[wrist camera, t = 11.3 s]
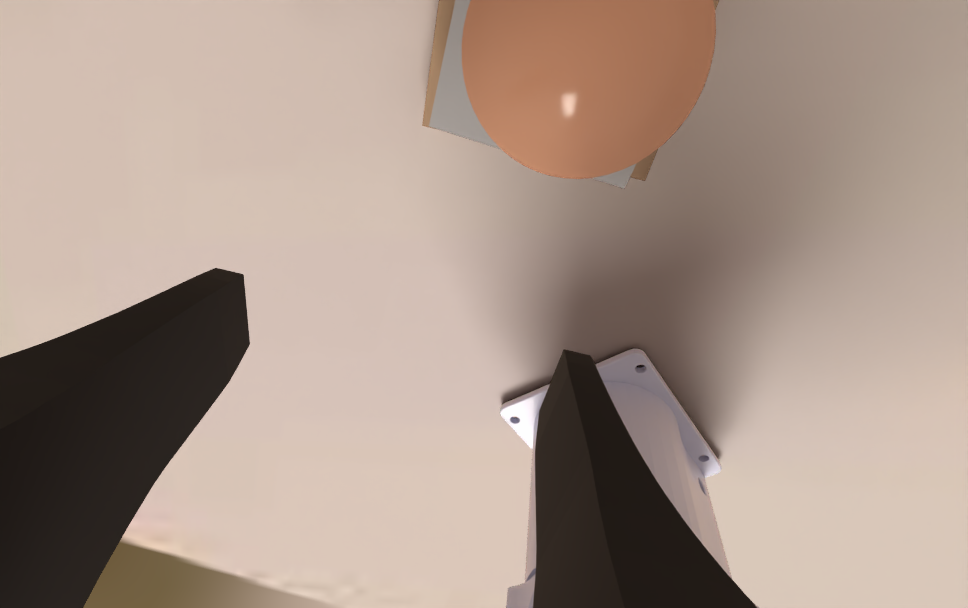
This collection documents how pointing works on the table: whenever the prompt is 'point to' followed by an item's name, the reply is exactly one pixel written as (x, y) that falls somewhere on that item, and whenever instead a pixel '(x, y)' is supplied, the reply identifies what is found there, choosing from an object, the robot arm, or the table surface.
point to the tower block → (455, 106)
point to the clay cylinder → (585, 77)
